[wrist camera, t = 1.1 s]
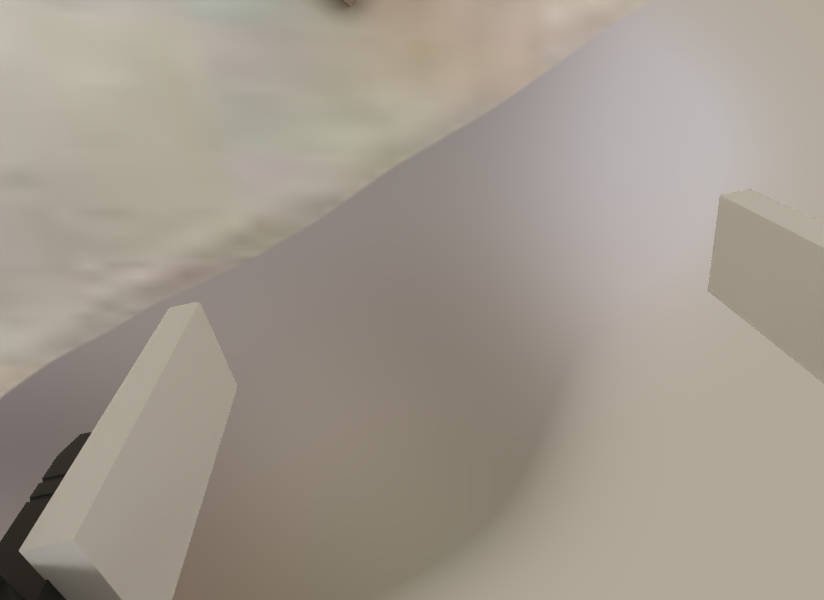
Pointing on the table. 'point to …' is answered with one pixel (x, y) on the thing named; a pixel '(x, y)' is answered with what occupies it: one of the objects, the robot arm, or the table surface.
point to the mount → (349, 2)
